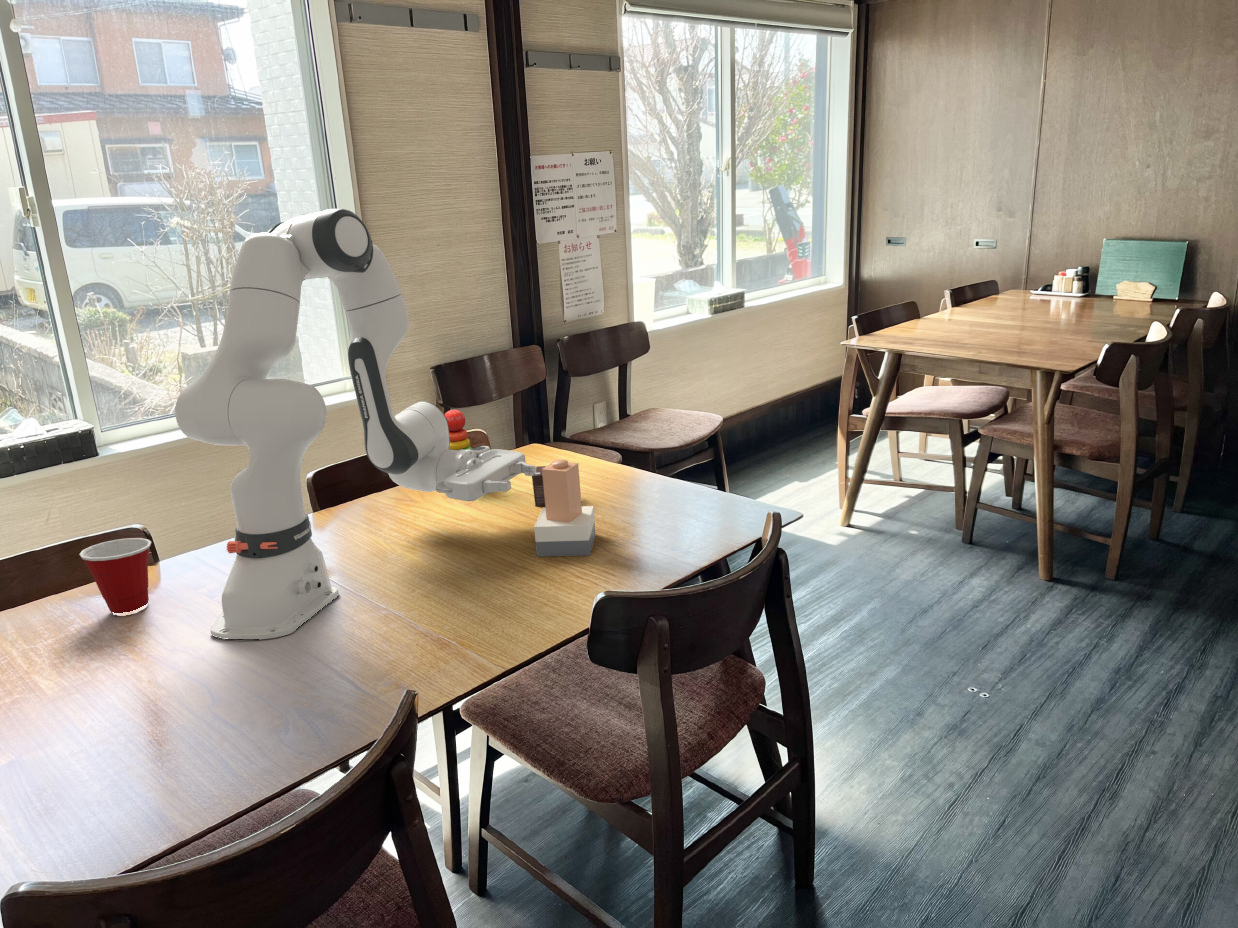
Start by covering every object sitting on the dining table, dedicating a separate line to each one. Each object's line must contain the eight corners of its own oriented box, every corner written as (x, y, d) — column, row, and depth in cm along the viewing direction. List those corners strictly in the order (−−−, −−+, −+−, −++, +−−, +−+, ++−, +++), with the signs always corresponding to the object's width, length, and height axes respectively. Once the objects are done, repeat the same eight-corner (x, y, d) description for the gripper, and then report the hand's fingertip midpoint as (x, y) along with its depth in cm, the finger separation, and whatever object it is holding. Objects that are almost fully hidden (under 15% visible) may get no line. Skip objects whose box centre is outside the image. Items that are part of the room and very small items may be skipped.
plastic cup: (179, 597, 160) (164, 534, 156) (132, 625, 150) (116, 560, 146) (129, 593, 163) (114, 532, 159) (81, 621, 153) (63, 556, 149)
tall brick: (570, 522, 166) (565, 467, 163) (546, 519, 168) (541, 465, 165) (582, 512, 171) (577, 459, 167) (559, 510, 173) (554, 457, 169)
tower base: (590, 555, 166) (587, 525, 164) (537, 556, 167) (534, 526, 165) (595, 534, 176) (593, 506, 174) (545, 536, 176) (542, 507, 175)
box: (566, 496, 198) (563, 465, 196) (562, 506, 192) (559, 473, 190) (539, 497, 199) (536, 465, 197) (534, 506, 193) (531, 474, 191)
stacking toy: (470, 480, 213) (461, 403, 208) (487, 487, 207) (479, 409, 202) (441, 488, 209) (430, 410, 203) (458, 496, 203) (448, 416, 197)
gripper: (428, 474, 166) (490, 480, 161) (487, 443, 184) (546, 447, 178) (432, 505, 168) (494, 512, 163) (490, 472, 186) (548, 477, 180)
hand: (522, 478), depth 171 cm, fingers open, 8 cm apart
